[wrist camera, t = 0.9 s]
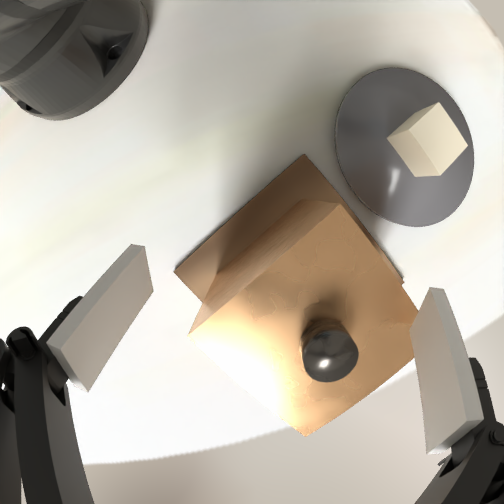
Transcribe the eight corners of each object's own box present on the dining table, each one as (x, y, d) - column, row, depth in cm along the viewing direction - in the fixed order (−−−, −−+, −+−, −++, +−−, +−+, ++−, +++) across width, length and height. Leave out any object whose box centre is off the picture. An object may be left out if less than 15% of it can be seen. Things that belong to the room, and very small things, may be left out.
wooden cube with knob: (216, 274, 24) (179, 352, 12) (301, 198, 23) (352, 205, 11) (288, 348, 26) (309, 456, 13) (369, 281, 24) (450, 351, 12)
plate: (311, 82, 22) (313, 78, 21) (441, 68, 21) (446, 65, 20) (360, 244, 24) (364, 247, 23) (479, 205, 23) (486, 206, 22)
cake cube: (386, 138, 22) (408, 129, 18) (414, 112, 21) (439, 101, 17) (414, 176, 22) (440, 175, 18) (441, 150, 21) (468, 145, 18)
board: (174, 270, 25) (173, 271, 24) (303, 154, 23) (304, 153, 22) (283, 378, 27) (284, 381, 26) (402, 281, 25) (404, 282, 24)
